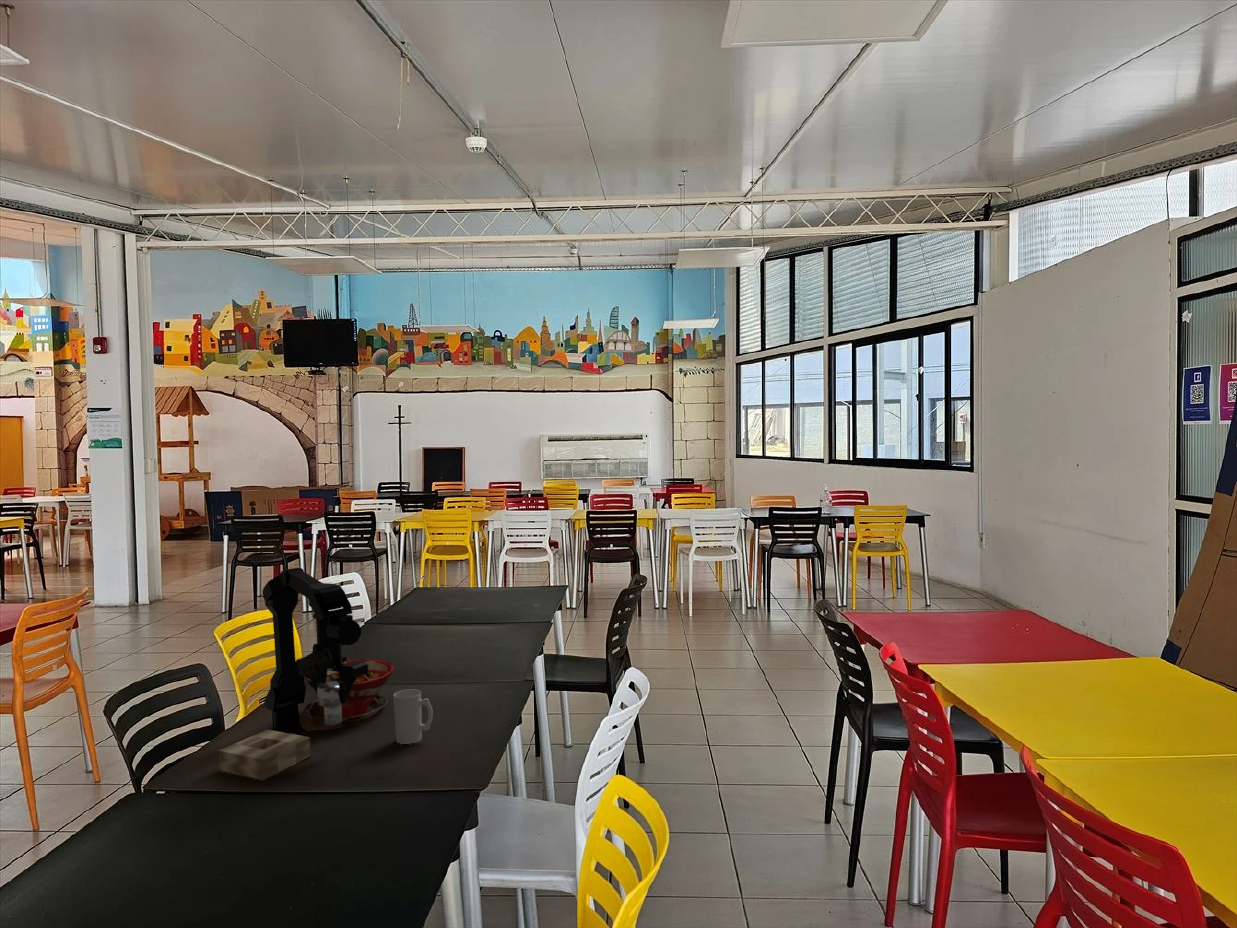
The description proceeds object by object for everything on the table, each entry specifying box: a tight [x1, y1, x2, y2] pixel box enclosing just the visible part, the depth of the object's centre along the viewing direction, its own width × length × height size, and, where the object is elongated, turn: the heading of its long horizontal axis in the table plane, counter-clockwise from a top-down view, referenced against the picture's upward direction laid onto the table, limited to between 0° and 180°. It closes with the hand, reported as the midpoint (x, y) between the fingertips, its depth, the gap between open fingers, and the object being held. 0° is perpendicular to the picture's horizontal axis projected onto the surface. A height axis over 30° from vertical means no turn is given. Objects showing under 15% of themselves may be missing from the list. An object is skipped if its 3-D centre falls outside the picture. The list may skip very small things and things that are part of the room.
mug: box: [393, 688, 434, 745], centre depth 207 cm, size 10×7×12 cm, turn 78°
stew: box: [299, 658, 395, 732], centre depth 227 cm, size 28×24×16 cm
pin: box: [316, 681, 347, 725], centre depth 199 cm, size 7×7×9 cm
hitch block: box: [218, 729, 311, 780], centre depth 194 cm, size 14×14×5 cm
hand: (332, 701), depth 199 cm, fingers closed on pin, 7 cm apart
